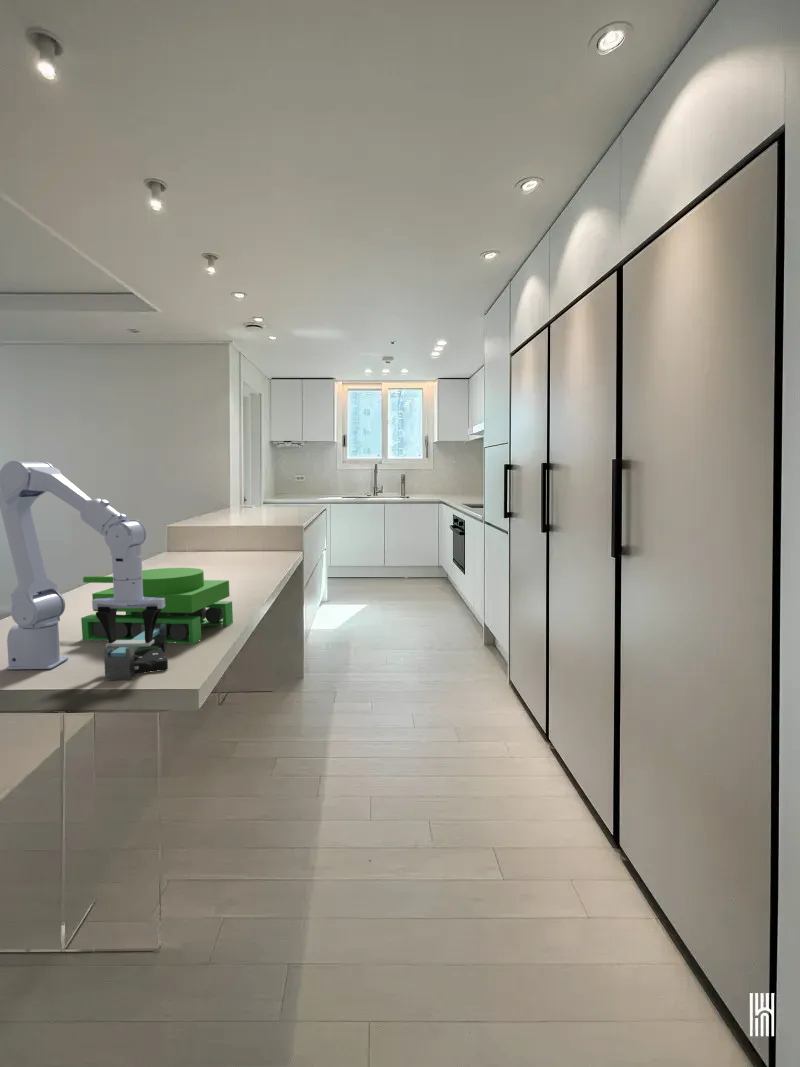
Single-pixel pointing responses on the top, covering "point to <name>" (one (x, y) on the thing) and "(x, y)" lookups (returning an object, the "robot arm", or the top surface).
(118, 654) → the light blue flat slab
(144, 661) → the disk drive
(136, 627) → the tank
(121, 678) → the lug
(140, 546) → the robot arm
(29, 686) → the top surface
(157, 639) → the hinge bracket
